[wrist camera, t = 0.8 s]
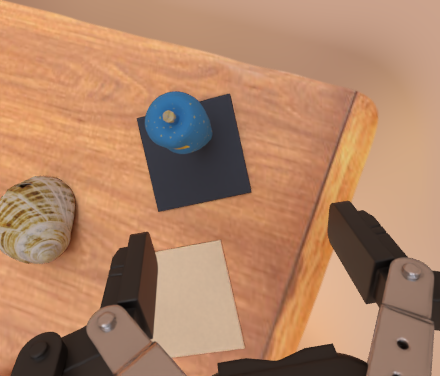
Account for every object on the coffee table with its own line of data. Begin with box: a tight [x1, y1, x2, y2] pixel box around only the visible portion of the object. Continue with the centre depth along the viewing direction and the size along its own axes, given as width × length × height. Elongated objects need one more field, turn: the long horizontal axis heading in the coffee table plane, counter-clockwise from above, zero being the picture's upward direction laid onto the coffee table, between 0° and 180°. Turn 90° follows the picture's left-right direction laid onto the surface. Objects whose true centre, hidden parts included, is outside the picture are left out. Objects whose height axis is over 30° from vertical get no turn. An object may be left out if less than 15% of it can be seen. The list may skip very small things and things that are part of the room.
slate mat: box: [137, 94, 251, 212], centre depth 39 cm, size 12×12×1 cm
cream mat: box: [150, 240, 245, 358], centre depth 41 cm, size 14×14×1 cm
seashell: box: [0, 176, 75, 264], centre depth 40 cm, size 10×10×10 cm
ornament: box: [145, 92, 212, 154], centre depth 31 cm, size 5×5×15 cm
